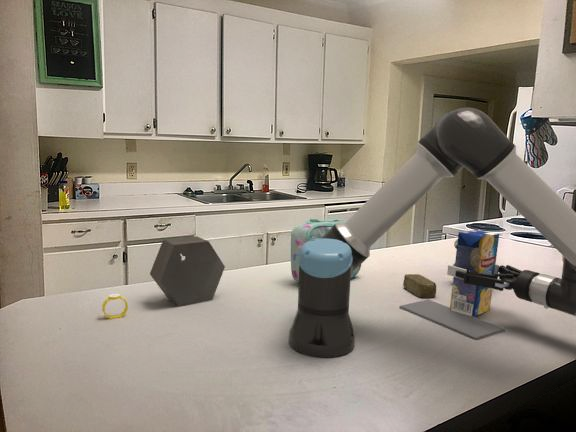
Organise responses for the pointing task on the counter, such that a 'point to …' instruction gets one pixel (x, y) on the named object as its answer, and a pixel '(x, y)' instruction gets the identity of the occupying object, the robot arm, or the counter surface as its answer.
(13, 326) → the counter surface
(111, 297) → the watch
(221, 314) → the counter surface
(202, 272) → the planter
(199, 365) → the counter surface
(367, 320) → the counter surface
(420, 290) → the stone block
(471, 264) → the beverage box
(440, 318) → the mat
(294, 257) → the lunch box
